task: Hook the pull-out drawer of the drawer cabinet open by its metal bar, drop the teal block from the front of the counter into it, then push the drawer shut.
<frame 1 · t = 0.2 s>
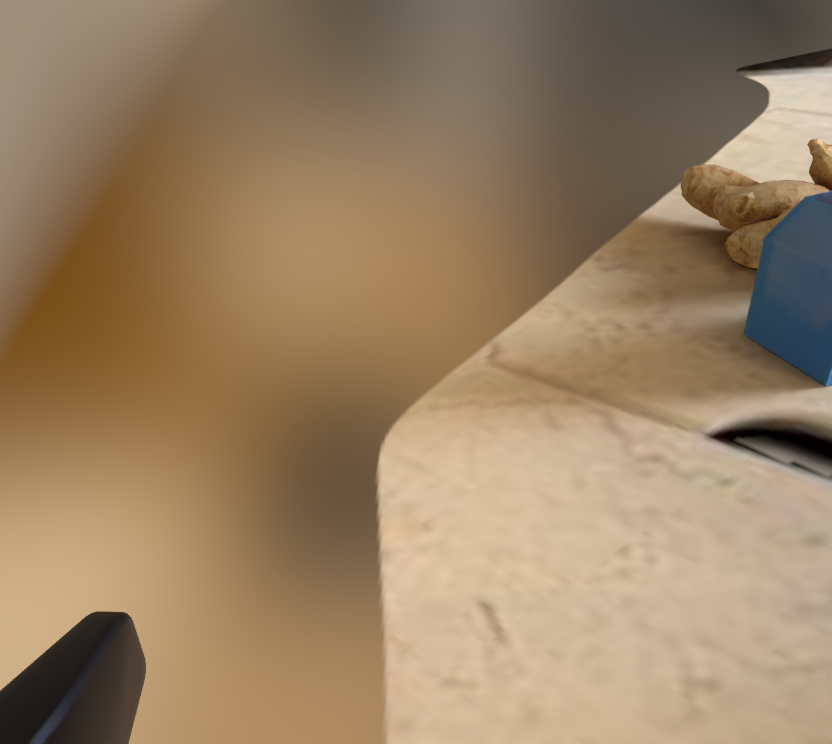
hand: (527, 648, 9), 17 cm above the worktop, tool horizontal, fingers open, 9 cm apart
ginger root: (806, 259, 56), on the worktop
perfume bottle: (823, 349, 46), on the worktop
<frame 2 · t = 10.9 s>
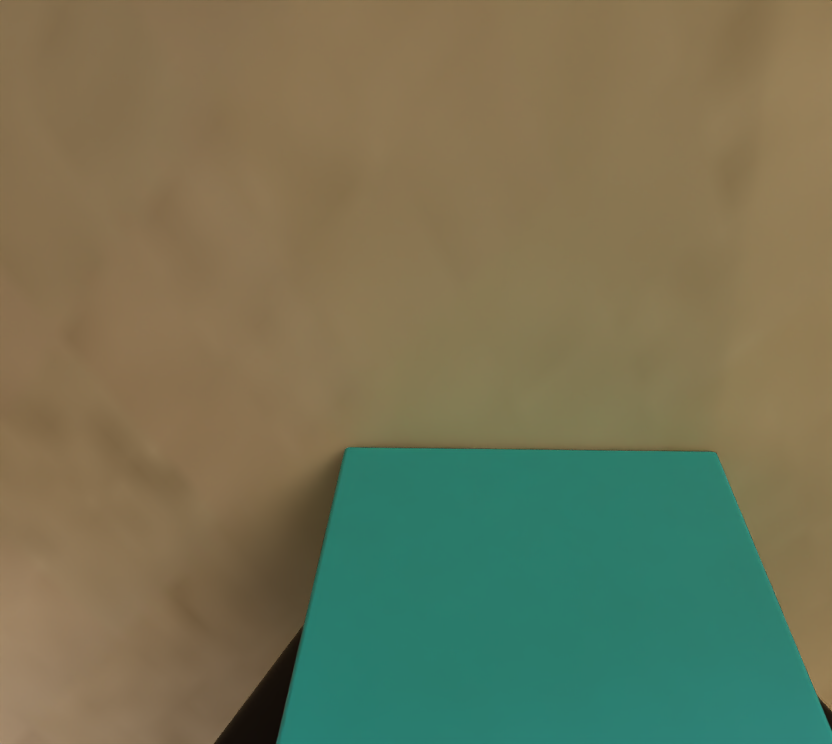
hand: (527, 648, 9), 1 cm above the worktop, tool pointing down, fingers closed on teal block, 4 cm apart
teal block: (521, 579, 10), on the worktop, touching gripper
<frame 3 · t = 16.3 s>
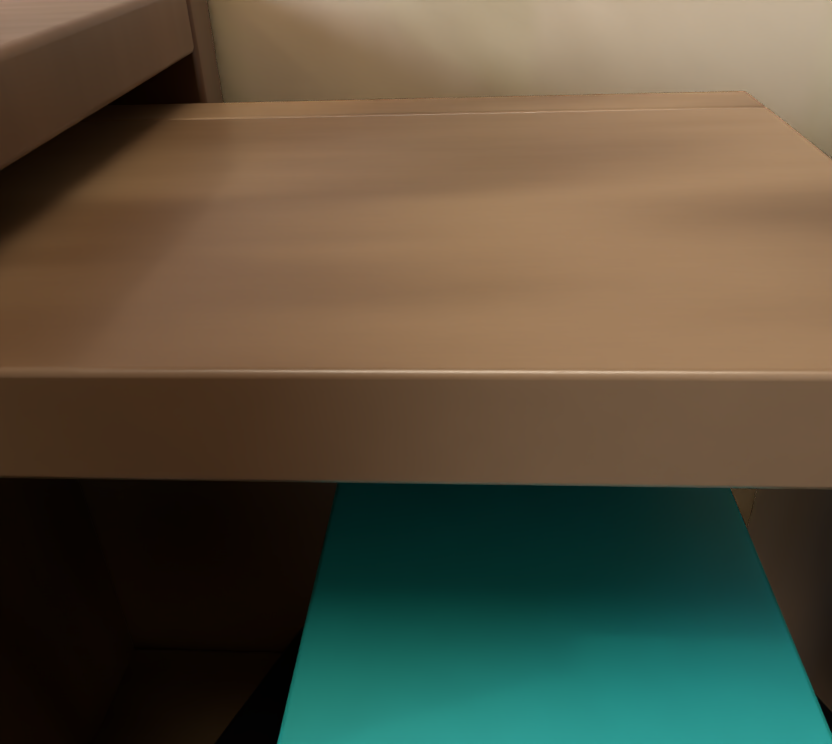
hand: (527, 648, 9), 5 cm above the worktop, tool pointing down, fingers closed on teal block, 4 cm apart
teal block: (521, 581, 10), point 4 cm above the worktop, touching gripper
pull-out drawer: (627, 588, 9), point 4 cm above the worktop, slide at 7.9 cm
when the fingers open (8 cm above the worktop, at t = 29.3 s): teal block drops 5 cm, resting on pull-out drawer.
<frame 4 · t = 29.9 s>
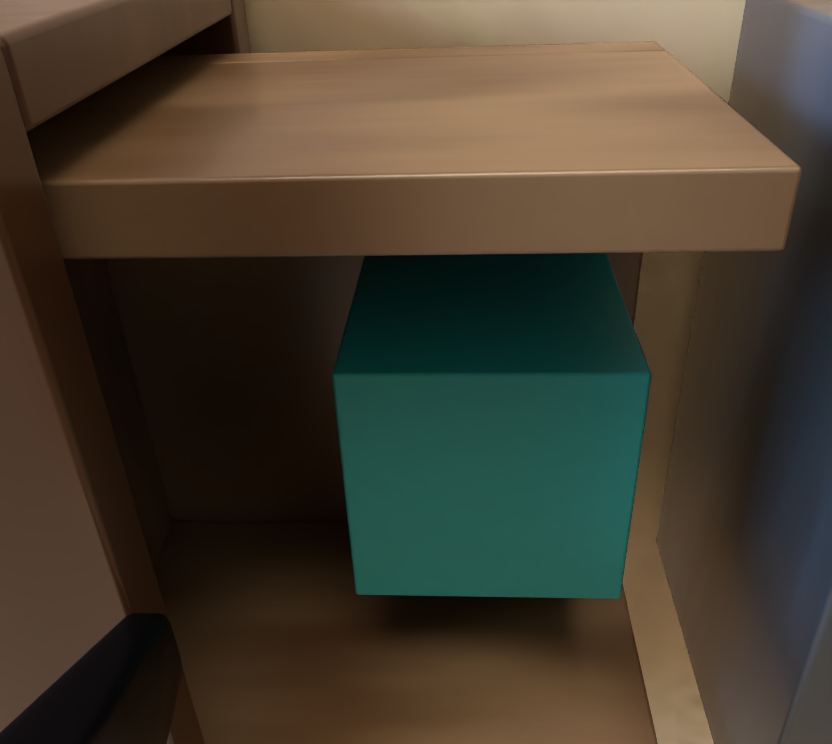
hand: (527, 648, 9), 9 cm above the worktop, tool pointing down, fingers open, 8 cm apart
teal block: (483, 350, 14), point 2 cm above the worktop, touching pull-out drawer
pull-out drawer: (567, 423, 12), point 4 cm above the worktop, slide at 7.9 cm, touching teal block
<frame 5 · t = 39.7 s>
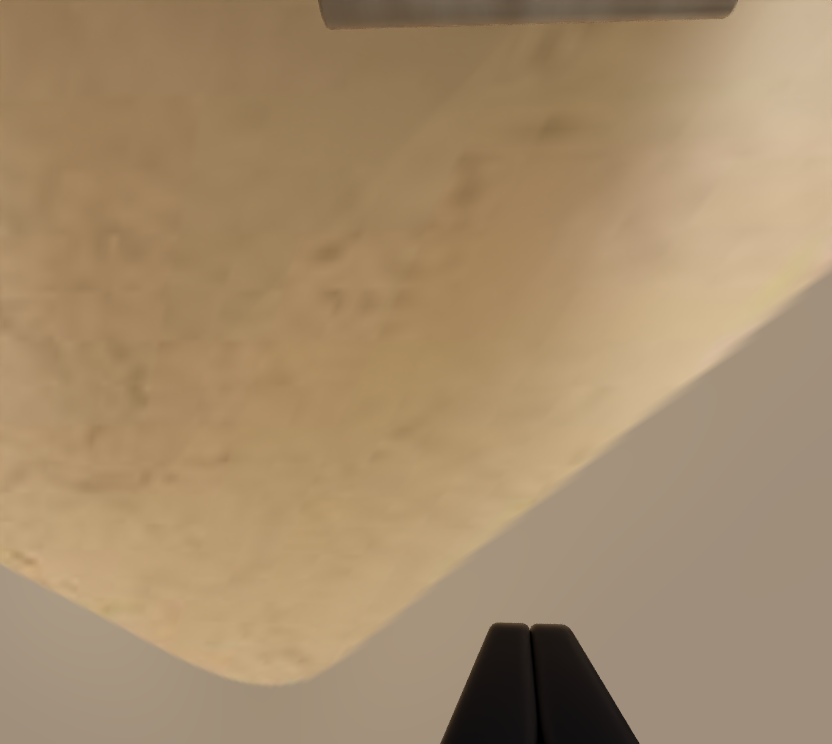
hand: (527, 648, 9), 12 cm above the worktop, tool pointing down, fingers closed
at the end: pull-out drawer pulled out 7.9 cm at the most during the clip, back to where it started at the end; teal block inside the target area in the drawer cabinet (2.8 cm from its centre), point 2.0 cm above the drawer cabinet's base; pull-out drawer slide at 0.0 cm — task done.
